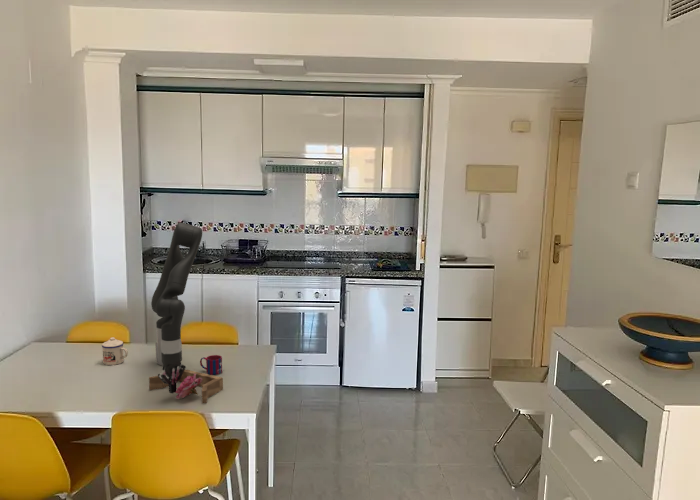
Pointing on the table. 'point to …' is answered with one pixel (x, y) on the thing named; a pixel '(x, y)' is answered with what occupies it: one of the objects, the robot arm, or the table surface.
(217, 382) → the wooden slat frame
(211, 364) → the cup
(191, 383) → the flower
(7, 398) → the table surface
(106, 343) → the teacup with lid
